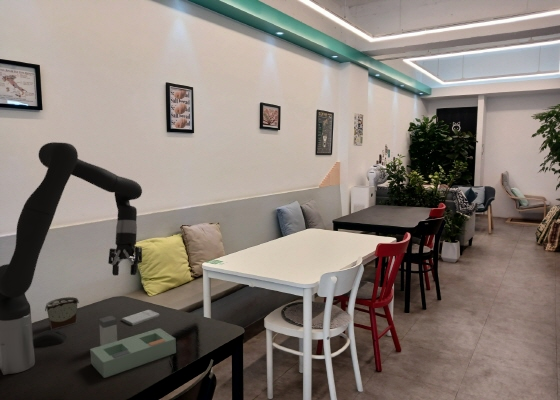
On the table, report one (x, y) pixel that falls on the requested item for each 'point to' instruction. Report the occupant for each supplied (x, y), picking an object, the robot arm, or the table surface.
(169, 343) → the socket block
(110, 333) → the plug
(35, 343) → the computer mouse
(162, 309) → the table surface
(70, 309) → the food container
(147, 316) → the external hard drive
